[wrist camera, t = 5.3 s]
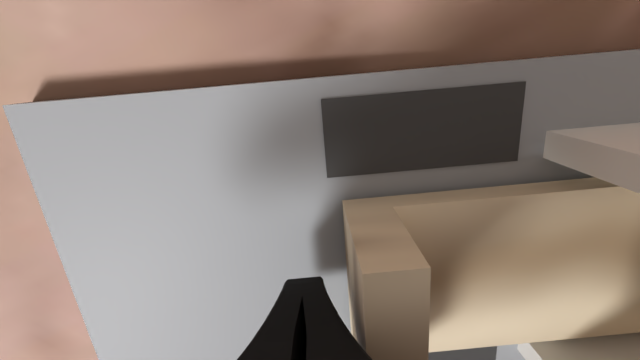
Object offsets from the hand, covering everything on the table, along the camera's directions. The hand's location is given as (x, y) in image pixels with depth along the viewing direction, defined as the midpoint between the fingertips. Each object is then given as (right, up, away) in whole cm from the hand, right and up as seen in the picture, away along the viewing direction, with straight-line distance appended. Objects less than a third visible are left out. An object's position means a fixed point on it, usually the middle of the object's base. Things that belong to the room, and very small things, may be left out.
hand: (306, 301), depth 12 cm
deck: (+7, +2, +3) cm, 8 cm away
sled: (+13, +2, +1) cm, 13 cm away
